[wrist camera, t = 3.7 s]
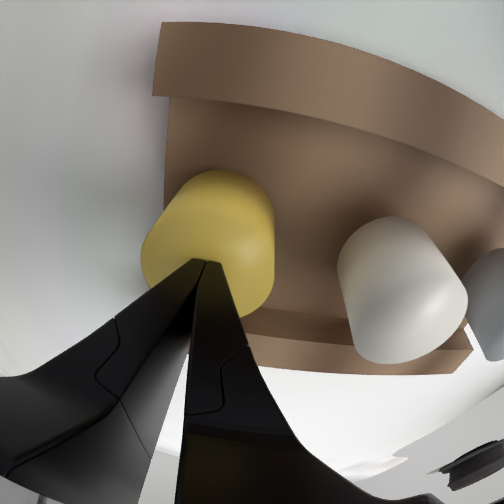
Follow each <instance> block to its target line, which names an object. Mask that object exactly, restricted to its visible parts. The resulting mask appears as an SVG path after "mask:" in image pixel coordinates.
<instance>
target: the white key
mask: <svg viewBox="0 0 504 504" xmlns="http://www.w3.org/2000/svg"><path fill="white" fill-rule="evenodd" d="M337 273H338V278H339V282H340V286H341V290H342V294H343V298H344V302H345V306H346V311H347V315H348V319H349V324H350V328H351V333H352V337H353V342H354V346H355V348H356V350H357V352H358V353H359V354H360V355H361V356H362V357H363V358H365V359H367V360H369V361H371V362H374V363H379V364H397V363H403V362H407V361H411V360H414V359H417V358H419V357H421V356H424V355H426V354H428V353H429V352H431V351H433V350H434V349H436V348H437V347H439V346H440V345H441V344H443V343H444V342H445V341H446V340H447V339H448V338H449V337H450V336H451V335H452V334H453V333H454V332H455V331H456V329H457V328H458V327H459V325H460V324H461V322H462V320H463V318H464V316H465V313H466V310H467V305H468V296H467V292H466V289H465V287H464V286H463V284H462V283H461V281H460V280H459V278H458V277H457V275H456V274H455V272H454V271H453V269H452V268H451V266H450V265H449V263H448V262H447V260H446V259H445V258H444V256H443V255H442V253H441V252H440V251H439V249H438V248H437V247H436V245H435V244H434V243H433V241H432V240H431V239H430V237H429V236H428V235H427V233H426V232H425V231H424V229H423V228H422V227H421V226H420V225H419V224H417V223H416V222H414V221H413V220H411V219H408V218H405V217H400V216H389V217H383V218H379V219H376V220H373V221H371V222H369V223H367V224H365V225H363V226H362V227H360V228H359V229H358V230H357V231H355V232H354V233H353V234H352V235H351V236H350V237H349V239H348V240H347V241H346V242H345V244H344V246H343V247H342V249H341V252H340V254H339V257H338V262H337Z"/></svg>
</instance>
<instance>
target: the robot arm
mask: <svg viewBox="0 0 504 504" xmlns="http://www.w3.org/2000/svg"><path fill="white" fill-rule="evenodd" d="M114 318H115V319H114ZM114 318H112V319H110V320H109V321H108V322H106V323H105V324H104V325H103V326H101V327H100V328H98V329H97V330H96V331H94V332H93V333H92V334H90V335H89V336H87V337H86V338H84V339H83V340H81V341H80V342H78V343H77V344H75V345H74V346H72V347H71V348H69V349H67V350H66V351H64V352H63V353H61V354H59V355H58V356H56V357H55V358H53V359H51V360H50V361H48V362H47V363H45V364H43V365H42V366H40V367H39V368H37V369H35V370H33V371H31V372H29V373H26V374H23V375H19V376H12V377H0V504H138V501H139V497H140V494H141V491H142V488H143V484H144V481H145V478H146V475H147V472H148V469H149V466H150V462H151V459H152V456H153V453H154V450H155V447H156V444H157V441H158V437H159V434H160V431H161V428H162V425H163V422H164V419H165V416H166V413H167V410H168V407H169V404H170V402H171V399H172V396H173V393H174V390H175V387H176V384H177V381H178V378H179V375H180V372H181V370H182V367H183V364H184V361H185V358H186V355H187V353H188V350H189V347H190V350H189V360H188V371H187V382H186V394H185V408H184V422H183V435H182V444H181V452H180V460H179V468H178V476H177V485H176V493H175V502H174V504H444V503H443V502H441V501H440V500H439V499H438V498H436V497H435V496H434V495H432V494H431V493H427V494H421V495H417V496H413V497H409V498H405V499H400V500H386V499H381V498H378V497H375V496H372V495H370V494H369V493H367V492H365V491H363V490H362V489H360V488H359V487H357V486H356V485H354V484H353V483H351V482H350V481H348V480H347V479H345V478H344V477H343V476H341V475H340V474H338V473H337V472H335V471H334V470H333V469H331V468H330V467H329V466H327V465H326V464H324V463H323V462H322V461H320V460H319V459H318V458H316V457H315V456H314V455H312V454H311V453H310V452H309V451H308V450H307V449H306V448H305V447H304V446H303V445H302V444H301V443H300V441H299V440H298V439H297V437H296V436H295V434H294V433H293V431H292V429H291V428H290V426H289V424H288V423H287V421H286V419H285V417H284V416H283V414H282V412H281V410H280V409H279V407H278V405H277V403H276V402H275V400H274V398H273V396H272V395H271V393H270V391H269V389H268V387H267V385H266V383H265V381H264V379H263V377H262V375H261V373H260V371H259V369H258V366H257V364H256V361H255V359H254V356H253V353H252V351H251V348H250V346H249V343H248V340H247V337H246V334H245V331H244V328H243V326H242V323H241V320H240V317H239V314H238V311H237V308H236V305H235V302H234V299H233V296H232V294H231V291H230V288H229V285H228V282H227V279H226V276H225V273H224V270H223V267H222V264H221V263H220V262H215V261H207V262H206V260H203V259H198V258H192V259H190V260H189V261H187V262H186V263H185V264H183V265H182V266H181V267H179V268H178V269H177V270H175V271H174V272H173V273H171V274H170V275H168V276H167V277H166V278H164V279H163V280H162V281H160V282H159V283H158V284H156V285H155V286H154V287H152V288H151V289H150V290H148V291H147V292H146V293H144V294H143V295H142V296H140V297H139V298H138V299H137V300H135V301H134V302H133V303H131V304H130V305H129V306H127V307H126V308H125V309H123V310H122V311H121V312H120V313H118V314H117V315H116V316H115V317H114ZM490 504H504V497H503V498H501V499H499V500H497V501H495V502H492V503H490Z"/></svg>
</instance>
